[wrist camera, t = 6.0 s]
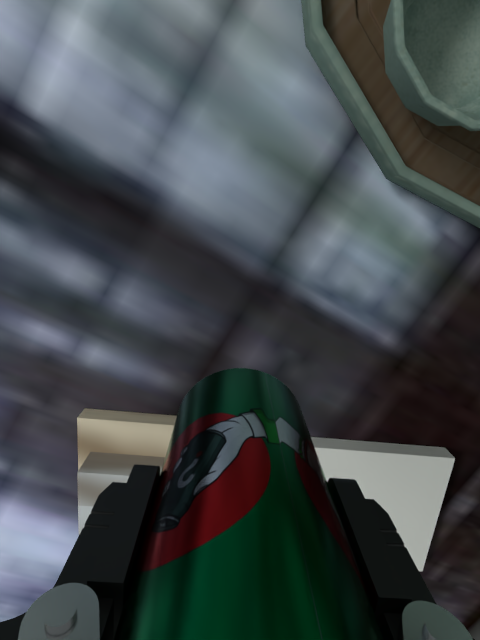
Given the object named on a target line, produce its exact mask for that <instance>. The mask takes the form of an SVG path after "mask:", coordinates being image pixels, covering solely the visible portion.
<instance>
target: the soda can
mask: <svg viewBox="0 0 480 640" xmlns="http://www.w3.org/2000/svg"><path fill="white" fill-rule="evenodd" d="M114 640H384V638H383V636H382V633H381V630H380V627H379V624H378V622H377V619H376V616H375V613H374V611H373V608H372V605H371V602H370V600H369V597H368V594H367V591H366V588H365V586H364V583H363V580H362V577H361V575H360V572H359V569H358V566H357V564H356V561H355V558H354V555H353V553H352V550H351V547H350V544H349V541H348V539H347V536H346V533H345V530H344V528H343V525H342V522H341V519H340V517H339V514H338V511H337V508H336V506H335V503H334V500H333V497H332V494H331V492H330V489H329V486H328V483H327V481H326V478H325V475H324V472H323V470H322V467H321V464H320V461H319V458H318V456H317V453H316V450H315V447H314V445H313V442H312V439H311V436H310V434H309V431H308V428H307V425H306V423H305V420H304V417H303V414H302V411H301V409H300V406H299V404H298V402H297V400H296V398H295V396H294V395H293V393H292V392H291V391H290V389H289V388H288V387H286V386H285V385H284V384H283V383H282V382H281V381H279V380H278V379H276V378H275V377H273V376H271V375H269V374H267V373H264V372H261V371H258V370H253V369H246V368H234V369H228V370H223V371H220V372H216V373H214V374H212V375H209V376H207V377H205V378H204V379H202V380H201V381H200V382H198V383H197V384H196V385H195V386H194V387H193V388H192V389H191V390H190V391H189V392H188V393H187V395H186V396H185V397H184V399H183V401H182V403H181V405H180V408H179V411H178V414H177V418H176V421H175V425H174V428H173V432H172V435H171V439H170V442H169V446H168V449H167V453H166V457H165V460H164V464H163V467H162V471H161V474H160V478H159V482H158V485H157V489H156V492H155V496H154V499H153V503H152V506H151V510H150V514H149V517H148V521H147V524H146V528H145V531H144V535H143V538H142V542H141V545H140V549H139V552H138V556H137V560H136V563H135V567H134V570H133V574H132V577H131V581H130V584H129V588H128V591H127V595H126V598H125V602H124V606H123V609H122V612H121V615H120V619H119V623H118V626H117V630H116V633H115V637H114Z"/></svg>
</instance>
